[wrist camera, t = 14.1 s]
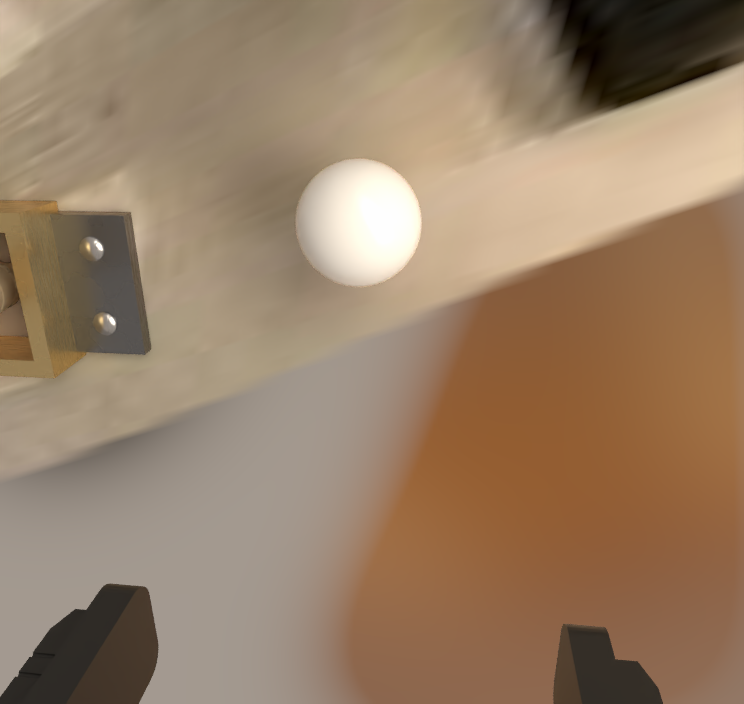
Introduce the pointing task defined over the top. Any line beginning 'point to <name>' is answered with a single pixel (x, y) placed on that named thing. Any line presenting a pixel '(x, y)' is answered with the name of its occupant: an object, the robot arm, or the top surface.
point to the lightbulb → (358, 222)
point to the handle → (7, 286)
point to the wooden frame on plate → (71, 287)
